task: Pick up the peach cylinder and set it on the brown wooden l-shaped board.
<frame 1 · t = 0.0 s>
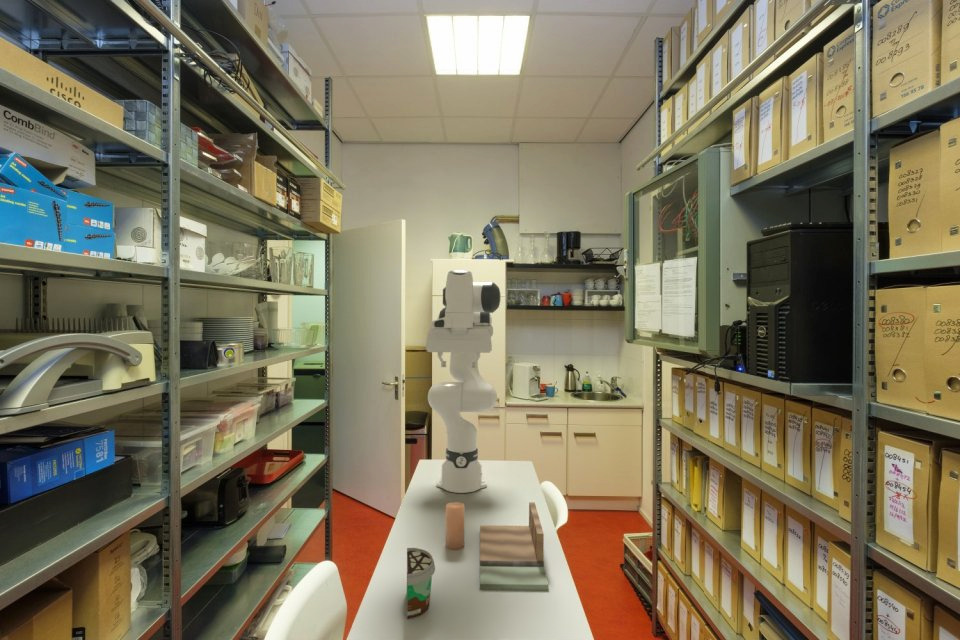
hand: (458, 367, 145), 48 cm above the table, tool pointing down, fingers open, 8 cm apart
peach cylinder: (454, 545, 131), on the table
food container: (420, 605, 104), on the table
brown wooden l-shaped board: (509, 549, 129), on the table
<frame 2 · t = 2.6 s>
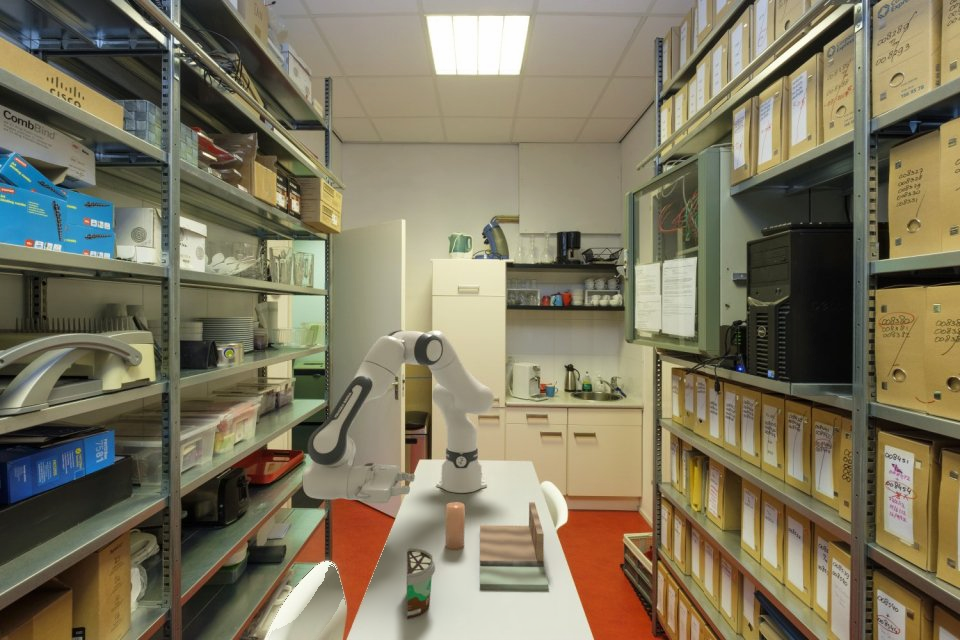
hand: (411, 483, 131), 17 cm above the table, tool horizontal, fingers open, 8 cm apart
nothing on the table moved.
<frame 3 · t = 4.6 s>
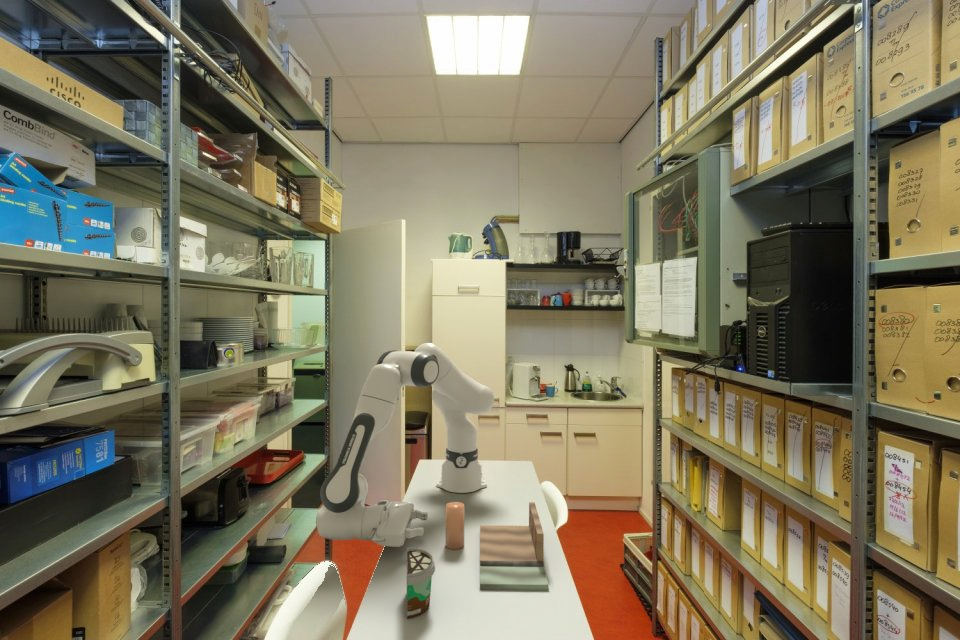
hand: (425, 523, 131), 6 cm above the table, tool horizontal, fingers open, 8 cm apart
nothing on the table moved.
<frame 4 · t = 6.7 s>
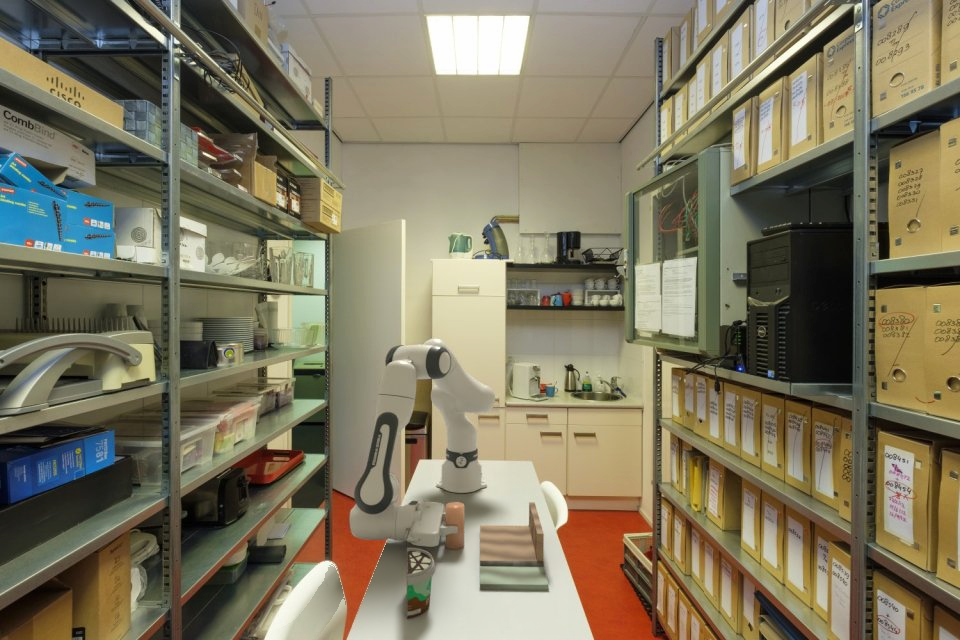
hand: (458, 523, 131), 6 cm above the table, tool horizontal, fingers closed on peach cylinder, 5 cm apart
peach cylinder: (454, 545, 131), on the table, touching gripper
everything else where it was.
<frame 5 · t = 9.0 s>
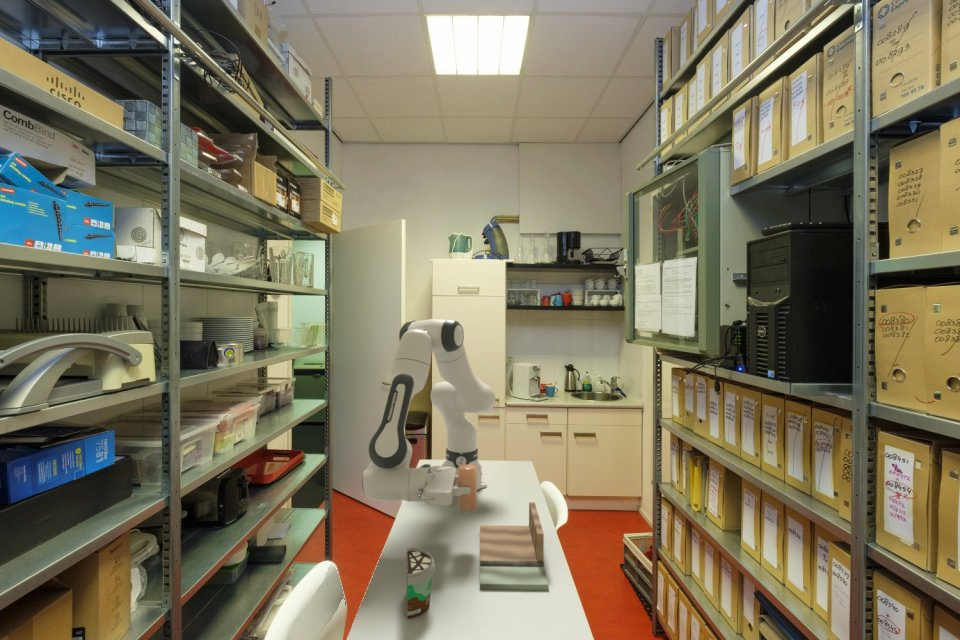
hand: (470, 485, 130), 17 cm above the table, tool horizontal, fingers closed on peach cylinder, 5 cm apart
peach cylinder: (467, 506, 130), point 11 cm above the table, touching gripper
everything else where it was.
when the fingers open (9 cm above the table, at t = 11.5 s): peach cylinder drops 1 cm, resting on brown wooden l-shaped board.
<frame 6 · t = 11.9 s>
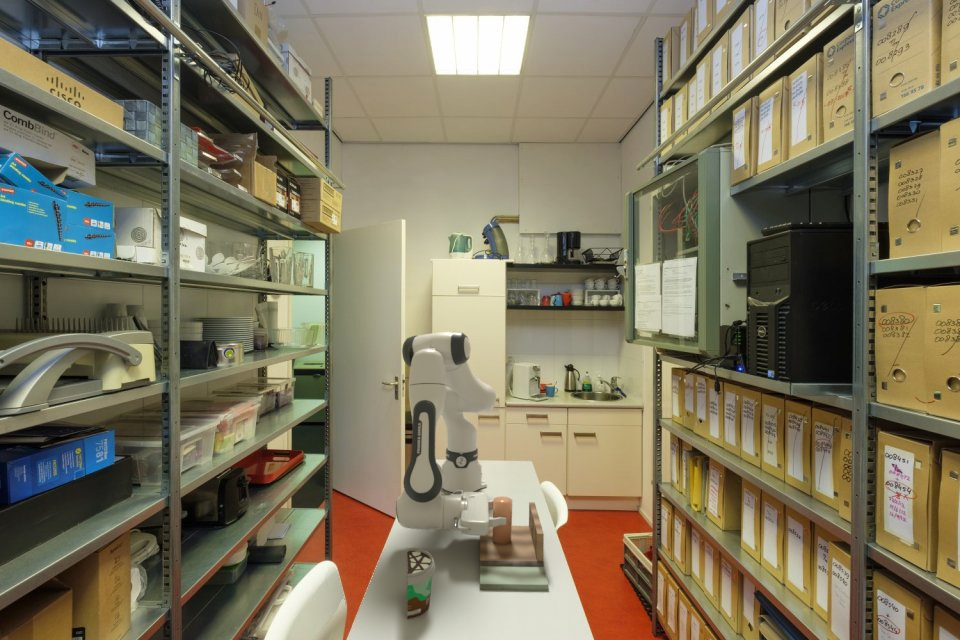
hand: (505, 513, 130), 9 cm above the table, tool horizontal, fingers open, 8 cm apart
peach cylinder: (501, 539, 130), point 2 cm above the table, touching brown wooden l-shaped board
everything else where it was.
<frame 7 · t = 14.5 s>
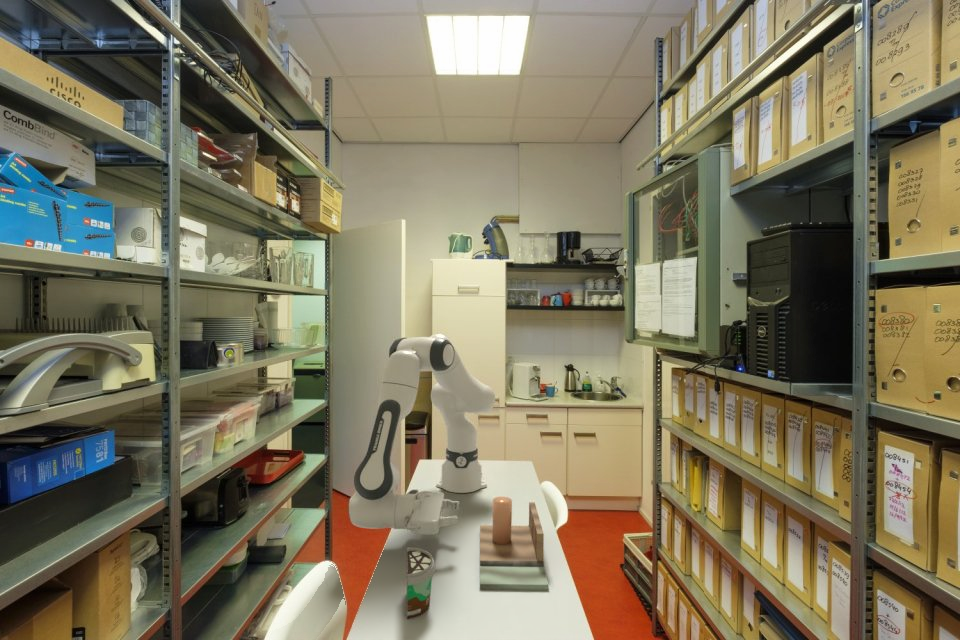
hand: (458, 512, 130), 10 cm above the table, tool horizontal, fingers open, 8 cm apart
nothing on the table moved.
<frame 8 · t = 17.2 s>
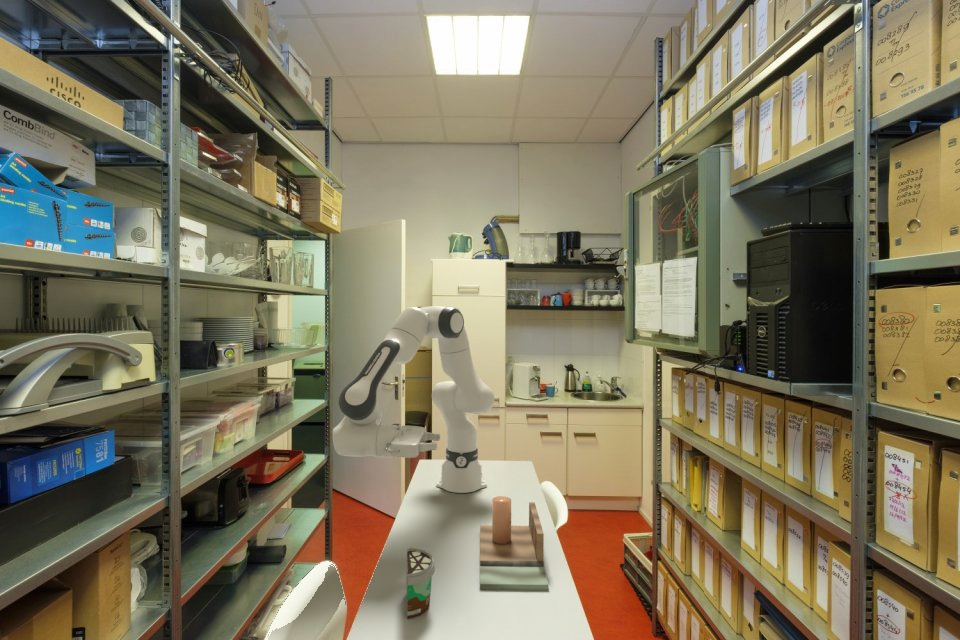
hand: (438, 441, 134), 28 cm above the table, tool horizontal, fingers open, 8 cm apart
nothing on the table moved.
at the end: peach cylinder inside the target area on the brown wooden l-shaped board (1.0 cm from its centre), point 2.1 cm above the brown wooden l-shaped board's base; peach cylinder tilted 1°; the gripper is holding nothing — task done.
